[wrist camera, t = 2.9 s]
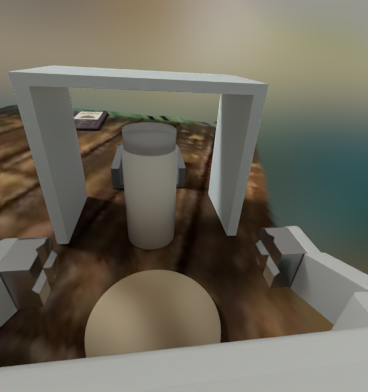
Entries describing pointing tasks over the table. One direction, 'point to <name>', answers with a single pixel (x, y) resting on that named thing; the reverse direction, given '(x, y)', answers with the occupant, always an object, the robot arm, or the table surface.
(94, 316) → the coaster
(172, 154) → the shaker
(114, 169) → the tray
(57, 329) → the table surface
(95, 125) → the chocolate bar
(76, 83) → the tunnel
